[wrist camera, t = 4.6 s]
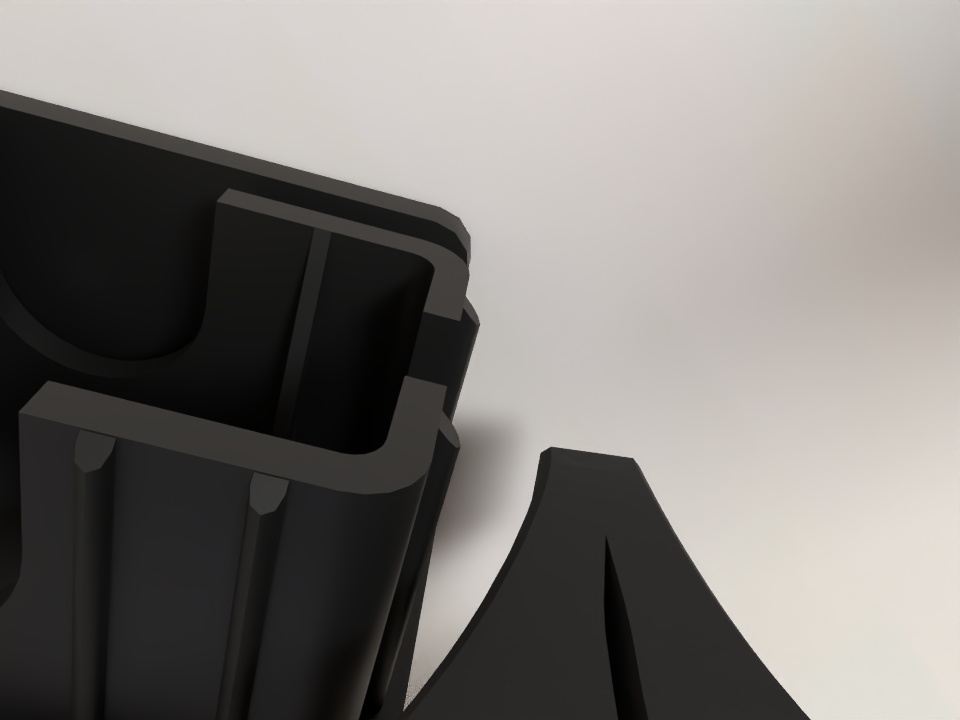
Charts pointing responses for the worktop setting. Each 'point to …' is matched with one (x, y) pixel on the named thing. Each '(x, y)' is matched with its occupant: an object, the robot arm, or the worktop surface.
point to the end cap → (215, 427)
